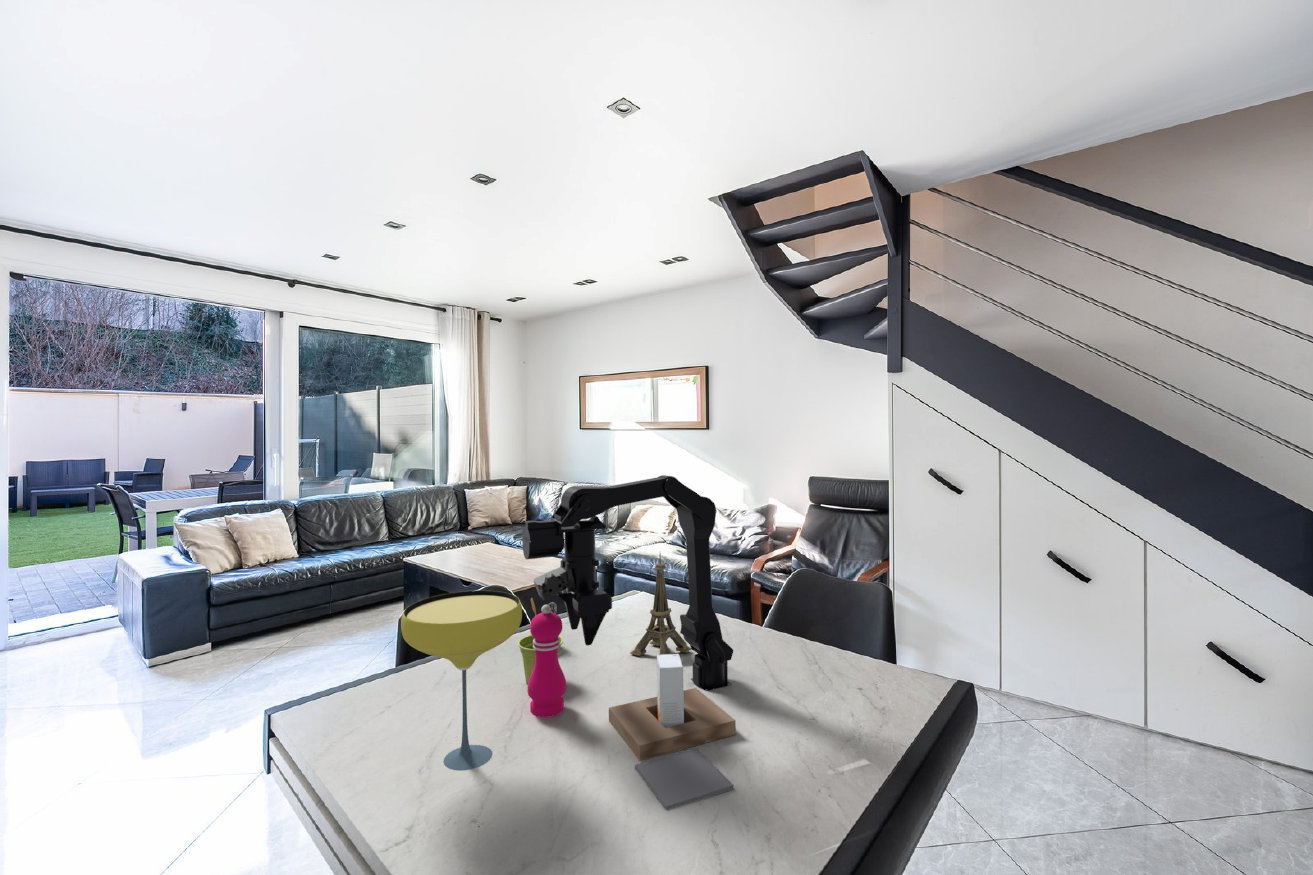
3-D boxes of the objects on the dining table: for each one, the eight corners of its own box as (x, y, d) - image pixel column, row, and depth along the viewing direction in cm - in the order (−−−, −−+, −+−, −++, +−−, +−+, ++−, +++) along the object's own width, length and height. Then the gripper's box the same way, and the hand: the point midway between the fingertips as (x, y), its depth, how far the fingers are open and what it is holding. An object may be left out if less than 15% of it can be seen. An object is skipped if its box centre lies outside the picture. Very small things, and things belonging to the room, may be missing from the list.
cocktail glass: (455, 814, 78) (453, 632, 78) (378, 774, 87) (376, 612, 87) (547, 751, 93) (545, 599, 93) (472, 723, 103) (471, 585, 102)
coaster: (696, 751, 93) (696, 747, 93) (733, 789, 83) (733, 784, 83) (634, 768, 88) (634, 764, 88) (665, 811, 78) (665, 806, 78)
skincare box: (656, 720, 103) (656, 654, 103) (680, 718, 103) (679, 653, 103) (660, 737, 97) (659, 667, 97) (684, 736, 97) (684, 666, 97)
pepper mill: (558, 722, 103) (557, 611, 102) (521, 718, 104) (519, 609, 104) (572, 703, 110) (570, 600, 110) (537, 700, 111) (535, 598, 111)
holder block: (695, 700, 110) (695, 687, 110) (735, 734, 97) (735, 720, 97) (608, 721, 102) (608, 707, 102) (639, 761, 90) (639, 745, 90)
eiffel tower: (656, 640, 143) (655, 541, 143) (691, 649, 137) (690, 545, 137) (630, 653, 135) (629, 548, 135) (666, 663, 128) (665, 553, 128)
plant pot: (568, 673, 124) (568, 633, 124) (556, 692, 114) (556, 649, 114) (526, 672, 125) (526, 632, 125) (511, 691, 115) (511, 648, 115)
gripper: (526, 549, 112) (527, 628, 112) (549, 568, 95) (550, 662, 95) (581, 543, 116) (582, 620, 116) (612, 562, 99) (613, 651, 99)
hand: (581, 636), depth 106 cm, fingers open, 9 cm apart
